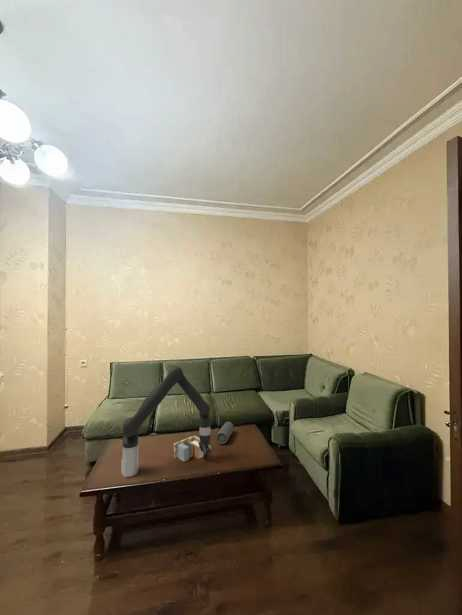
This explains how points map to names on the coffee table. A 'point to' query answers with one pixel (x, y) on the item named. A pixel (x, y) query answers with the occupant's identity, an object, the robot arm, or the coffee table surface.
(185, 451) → the shelved book
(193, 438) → the shelf
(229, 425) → the bluetooth speaker
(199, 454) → the boxed book
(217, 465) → the coffee table surface
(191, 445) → the bookend
